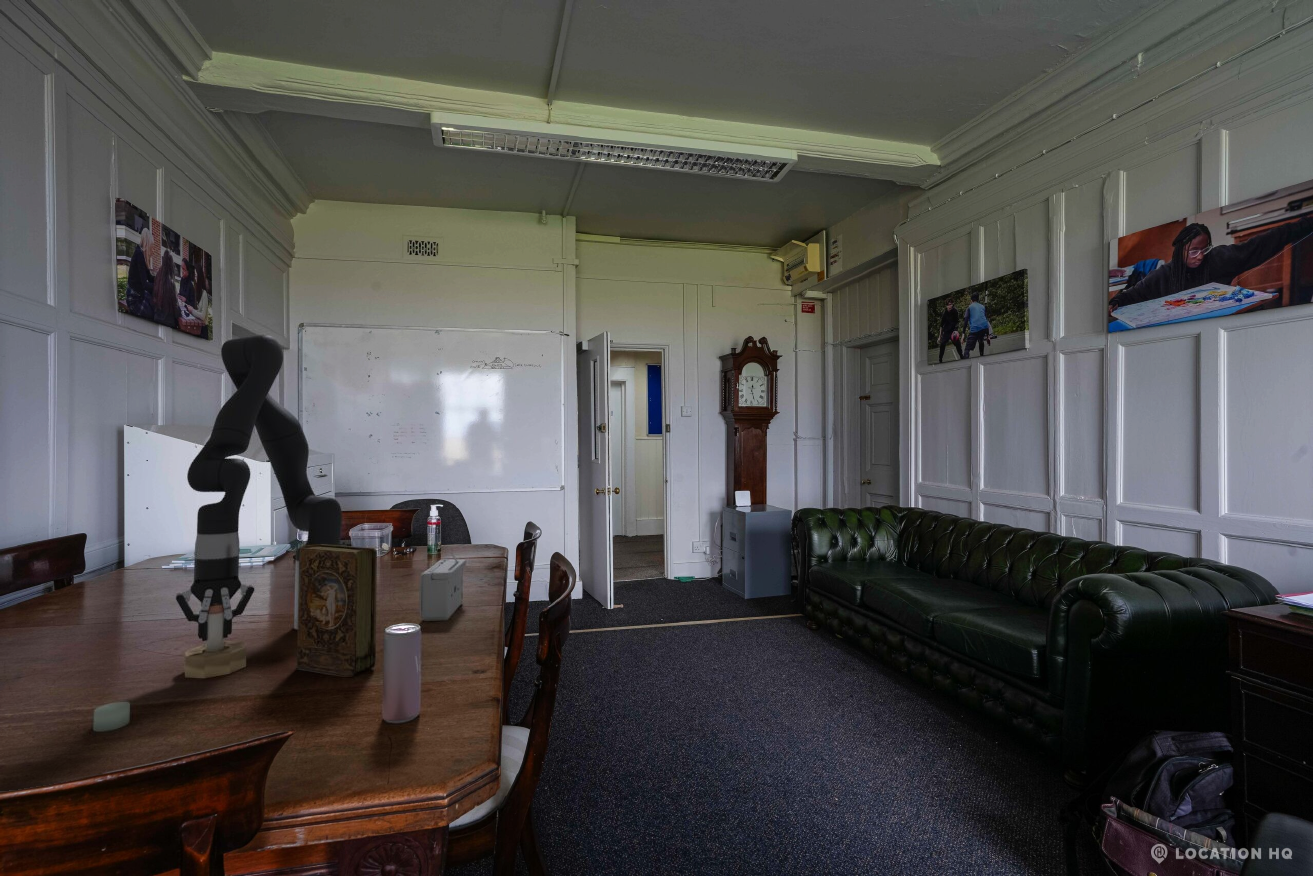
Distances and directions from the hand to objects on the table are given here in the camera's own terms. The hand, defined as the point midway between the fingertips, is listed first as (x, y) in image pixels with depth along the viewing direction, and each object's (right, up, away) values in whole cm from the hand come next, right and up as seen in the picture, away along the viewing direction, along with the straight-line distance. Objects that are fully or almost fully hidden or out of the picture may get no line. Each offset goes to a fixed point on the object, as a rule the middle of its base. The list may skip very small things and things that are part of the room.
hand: (214, 638), depth 125 cm
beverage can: (+48, -6, -22) cm, 53 cm away
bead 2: (0, -6, 0) cm, 6 cm away
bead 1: (+2, -6, -26) cm, 27 cm away
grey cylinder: (0, -3, 0) cm, 3 cm away
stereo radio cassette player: (+31, -8, +45) cm, 56 cm away
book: (+24, -7, 0) cm, 25 cm away
